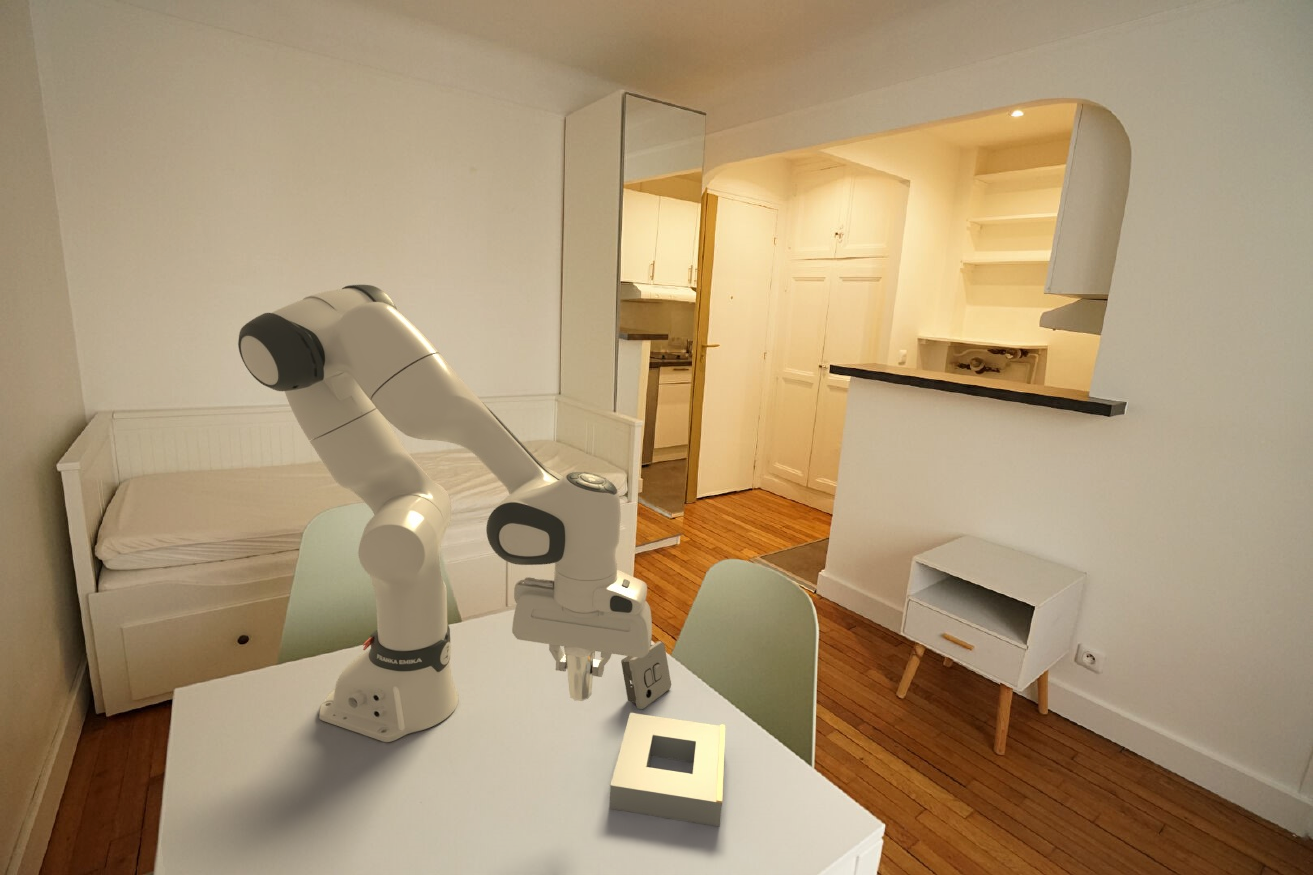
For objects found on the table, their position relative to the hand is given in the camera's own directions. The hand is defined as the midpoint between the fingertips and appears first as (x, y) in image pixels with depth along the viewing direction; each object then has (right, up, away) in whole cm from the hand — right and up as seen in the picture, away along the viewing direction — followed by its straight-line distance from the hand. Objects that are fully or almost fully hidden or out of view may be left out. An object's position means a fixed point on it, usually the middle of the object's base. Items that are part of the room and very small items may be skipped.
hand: (579, 671), depth 90 cm
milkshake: (0, -4, +1) cm, 4 cm away
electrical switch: (+9, -14, +24) cm, 30 cm away
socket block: (+13, -18, +5) cm, 23 cm away
